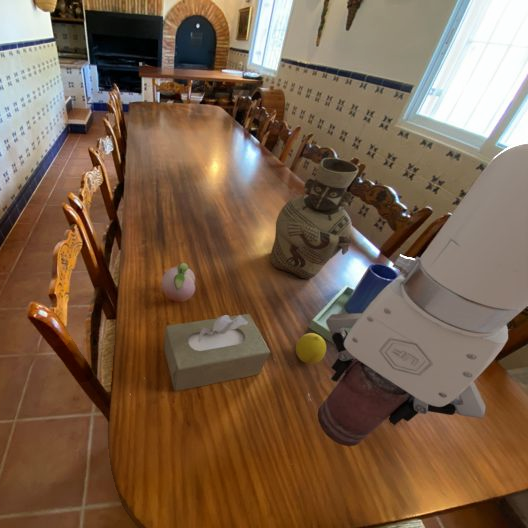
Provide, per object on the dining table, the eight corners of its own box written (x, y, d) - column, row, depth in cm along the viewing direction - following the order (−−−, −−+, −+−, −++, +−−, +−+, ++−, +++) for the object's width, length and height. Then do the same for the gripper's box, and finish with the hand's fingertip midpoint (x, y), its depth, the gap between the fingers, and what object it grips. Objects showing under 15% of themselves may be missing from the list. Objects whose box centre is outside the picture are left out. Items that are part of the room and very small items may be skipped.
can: (318, 395, 46) (357, 341, 38) (362, 418, 44) (415, 365, 35) (310, 430, 42) (352, 378, 34) (358, 457, 40) (417, 408, 31)
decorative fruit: (162, 284, 79) (164, 254, 73) (192, 286, 79) (197, 257, 73) (159, 310, 72) (160, 280, 66) (192, 313, 72) (197, 283, 66)
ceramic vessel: (300, 293, 80) (349, 191, 61) (253, 249, 94) (280, 155, 75) (347, 276, 88) (405, 180, 68) (297, 237, 102) (332, 149, 82)
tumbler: (371, 313, 76) (401, 273, 68) (363, 325, 73) (393, 284, 64) (348, 300, 80) (374, 259, 71) (339, 311, 76) (365, 270, 67)
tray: (430, 340, 71) (437, 333, 69) (406, 392, 60) (413, 386, 58) (342, 290, 82) (346, 283, 81) (308, 326, 72) (312, 320, 70)
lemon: (291, 367, 63) (304, 344, 58) (290, 345, 67) (302, 323, 62) (318, 374, 62) (334, 352, 57) (315, 352, 66) (330, 329, 61)
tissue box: (172, 392, 57) (178, 343, 47) (162, 349, 64) (165, 298, 54) (261, 374, 61) (284, 325, 51) (242, 335, 68) (259, 286, 58)
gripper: (342, 262, 29) (289, 365, 40) (601, 389, 20) (436, 477, 31) (370, 235, 33) (314, 335, 44) (595, 330, 24) (451, 426, 35)
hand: (365, 392), depth 38 cm, fingers closed on can, 6 cm apart
